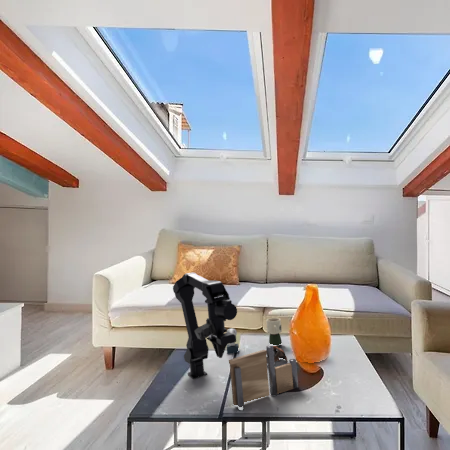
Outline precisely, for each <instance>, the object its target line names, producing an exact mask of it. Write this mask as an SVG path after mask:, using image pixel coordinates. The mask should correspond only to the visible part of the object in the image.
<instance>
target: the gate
mask: <svg viewBox="0 0 450 450" xmlns="http://www.w3.org/2000/svg"><path fill="white" fill-rule="evenodd" d="M266 350H267V349H266ZM266 350H265V349H261V350H258V351H254V352H251V353H248V354H244V355H241V356H238V357H234V358H229V359H228V364H229V371H230V381H231V382H230V383H231V396H232V404H234V405H237V396H236V384H235V373H234V367H237V366H239V367H240V368H241V378H242V390H243V401H244V402H247V401H251V400H254V399H258V398H261V397H264V398H266V397H265V396H267V397H269V396H270V385H269V373H268V364H267V360H266V357H267V355H266V354H267V351H266ZM261 399H262V398H261Z"/></svg>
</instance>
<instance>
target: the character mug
mask: <svg viewBox="0 0 450 450" xmlns="http://www.w3.org/2000/svg"><path fill="white" fill-rule="evenodd" d="M281 321H282V319H281V318H280V317H270V318H269V317H268V318H267V319H266V323H265V324H266V333H267V334H269V336H268V337H269V339H268V344H269V343H270V344H273V345H279V344H281V343H282V344H283V342H282V338H281V337H282V336H281V333H282V332H283V331H282V329H283V327H282V322H281Z"/></svg>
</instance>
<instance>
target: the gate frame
mask: <svg viewBox="0 0 450 450" xmlns="http://www.w3.org/2000/svg"><path fill="white" fill-rule="evenodd" d="M265 349H266V350H267V355H266V357H267V361H268V364H267V372H268V384H269V395H270V394H271V395H276V396H277V395H279V393H280V394H282V393H284V392H285V393H286V392H287V391H291V390H294V389H295V390H296V389H299V381H298V368H297V359H295V358H290V359H289V360H288V363H285V364H281V365H277V366H276V365H275V364H276V362H274V351H273V346H269V345H266V348H265ZM234 373H235V384H236V396H237V405H238V406H239V407H242V406H244V407H245V405H244V401H243V390H242V378H241V368H240V367H239V366H237V367H234ZM271 395H270V396H271Z"/></svg>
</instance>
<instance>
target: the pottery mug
mask: <svg viewBox="0 0 450 450" xmlns="http://www.w3.org/2000/svg"><path fill="white" fill-rule="evenodd" d="M266 351H267V349H266ZM273 351H274V363H277V362H281V360H279V358H283V359H285V360H284V361H286V363H287V362H288V363H289V360H288V357H287V355H286V353H285V352H284V350H283V349H282V348H280V347H279V346H273ZM283 359H282V360H283ZM266 360H267V354H266ZM267 365H268V361H267Z"/></svg>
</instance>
